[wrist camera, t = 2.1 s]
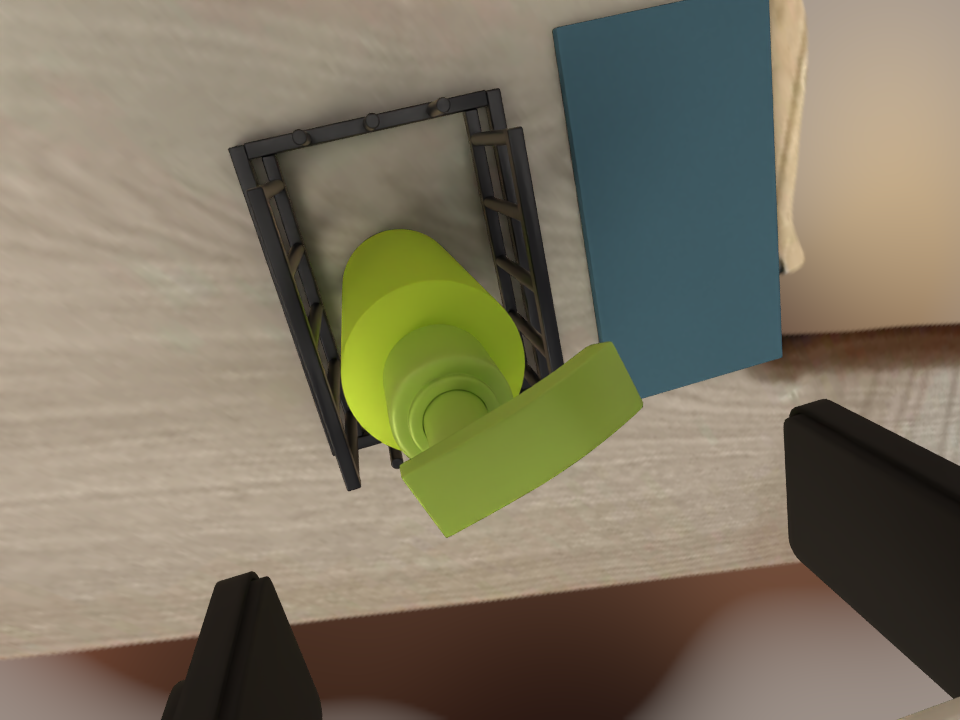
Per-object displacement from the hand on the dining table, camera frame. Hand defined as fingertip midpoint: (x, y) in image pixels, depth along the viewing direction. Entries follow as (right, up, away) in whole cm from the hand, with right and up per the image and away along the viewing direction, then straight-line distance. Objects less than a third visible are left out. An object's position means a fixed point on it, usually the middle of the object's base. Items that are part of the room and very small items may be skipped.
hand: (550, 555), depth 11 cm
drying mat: (+10, +11, +23) cm, 27 cm away
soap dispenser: (-5, +7, +21) cm, 23 cm away
